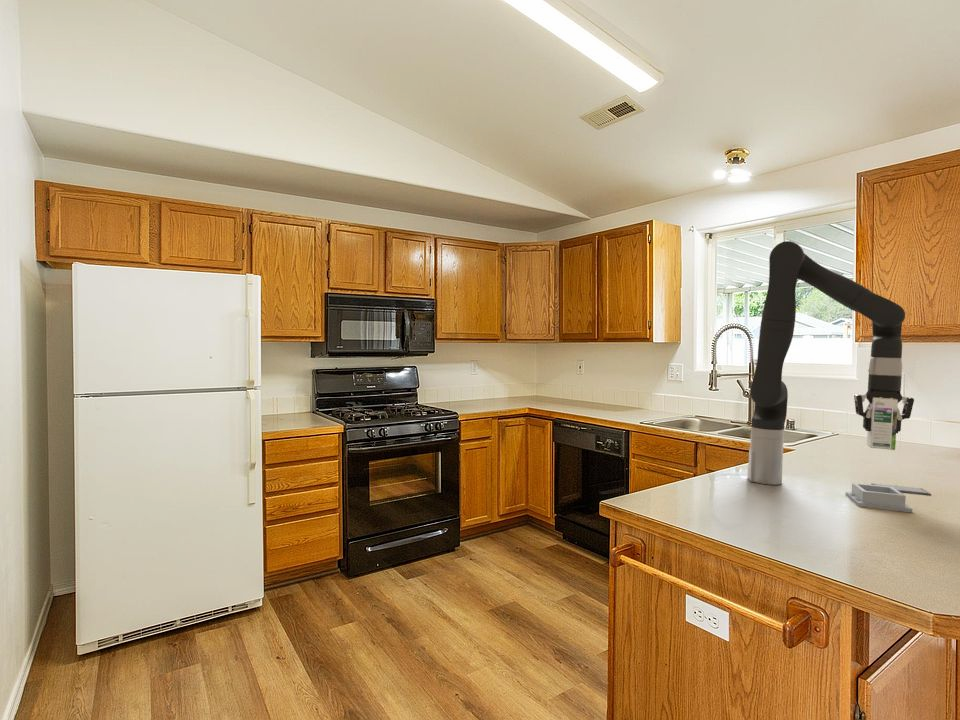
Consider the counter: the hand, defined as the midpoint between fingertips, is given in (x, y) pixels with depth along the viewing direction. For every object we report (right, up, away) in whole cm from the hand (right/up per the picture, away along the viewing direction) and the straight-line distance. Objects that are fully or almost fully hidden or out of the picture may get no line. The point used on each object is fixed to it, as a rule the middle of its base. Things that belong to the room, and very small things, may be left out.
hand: (881, 431), depth 152 cm
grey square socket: (-5, -19, -4) cm, 20 cm away
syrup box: (0, -5, 0) cm, 5 cm away
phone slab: (+14, -20, +11) cm, 27 cm away
